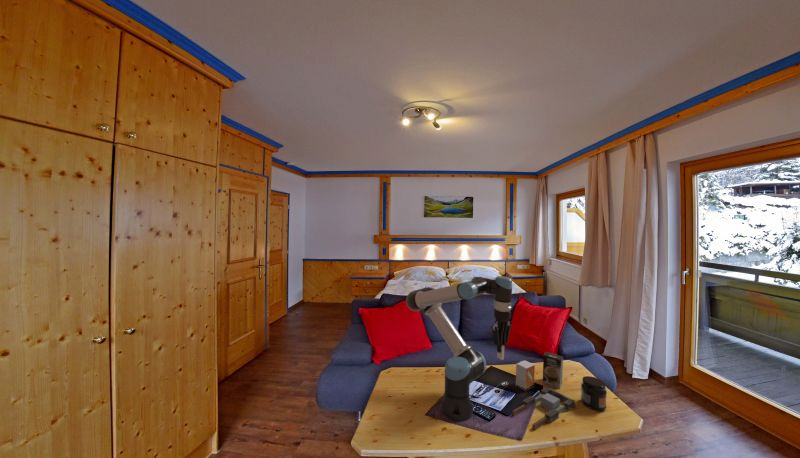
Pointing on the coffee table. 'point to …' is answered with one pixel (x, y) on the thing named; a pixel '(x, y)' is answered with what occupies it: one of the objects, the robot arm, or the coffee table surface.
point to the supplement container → (593, 393)
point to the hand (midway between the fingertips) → (500, 358)
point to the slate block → (550, 401)
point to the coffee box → (552, 369)
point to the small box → (525, 374)
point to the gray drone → (550, 415)
